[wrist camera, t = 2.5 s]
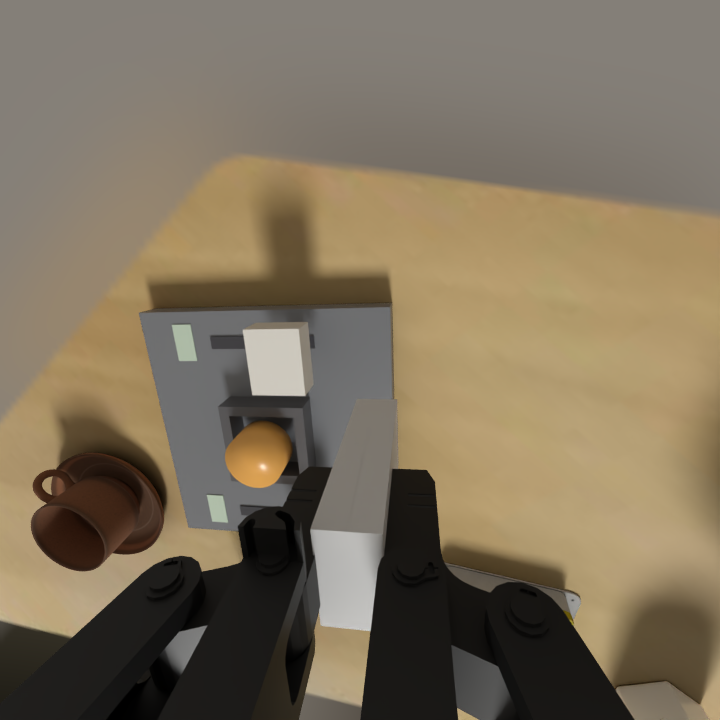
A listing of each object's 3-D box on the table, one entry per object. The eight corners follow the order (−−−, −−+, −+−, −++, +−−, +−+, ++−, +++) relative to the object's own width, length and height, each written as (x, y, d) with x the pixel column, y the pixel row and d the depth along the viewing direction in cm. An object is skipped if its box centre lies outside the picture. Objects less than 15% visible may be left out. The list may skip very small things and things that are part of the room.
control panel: (392, 302, 28) (388, 312, 24) (396, 526, 34) (394, 561, 31) (155, 308, 31) (119, 317, 27) (200, 513, 37) (175, 543, 34)
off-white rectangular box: (318, 314, 27) (298, 328, 22) (322, 371, 28) (305, 396, 23) (270, 315, 27) (242, 329, 23) (277, 371, 28) (252, 395, 24)
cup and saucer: (56, 501, 40) (-5, 546, 34) (85, 422, 36) (22, 457, 30) (150, 558, 41) (106, 611, 35) (190, 486, 37) (148, 532, 31)
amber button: (289, 421, 28) (278, 436, 26) (295, 470, 29) (285, 489, 27) (235, 419, 29) (220, 434, 27) (243, 468, 30) (229, 486, 28)
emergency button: (566, 708, 33) (402, 665, 34) (550, 656, 37) (404, 620, 39) (604, 638, 30) (422, 594, 31) (581, 590, 34) (421, 553, 36)
